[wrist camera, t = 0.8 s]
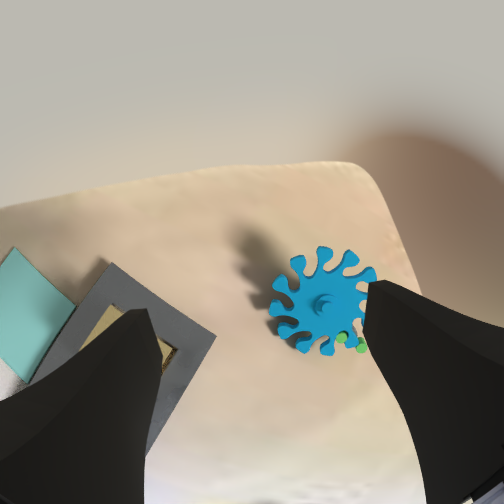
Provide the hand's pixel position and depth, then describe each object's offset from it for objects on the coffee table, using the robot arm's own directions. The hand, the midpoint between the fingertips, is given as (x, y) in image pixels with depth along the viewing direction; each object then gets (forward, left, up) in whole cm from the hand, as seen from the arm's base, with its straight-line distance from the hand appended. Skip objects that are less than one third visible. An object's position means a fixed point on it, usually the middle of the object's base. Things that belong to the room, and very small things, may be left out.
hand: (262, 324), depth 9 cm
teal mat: (-6, +13, -15) cm, 21 cm away
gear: (+9, -8, -15) cm, 19 cm away
